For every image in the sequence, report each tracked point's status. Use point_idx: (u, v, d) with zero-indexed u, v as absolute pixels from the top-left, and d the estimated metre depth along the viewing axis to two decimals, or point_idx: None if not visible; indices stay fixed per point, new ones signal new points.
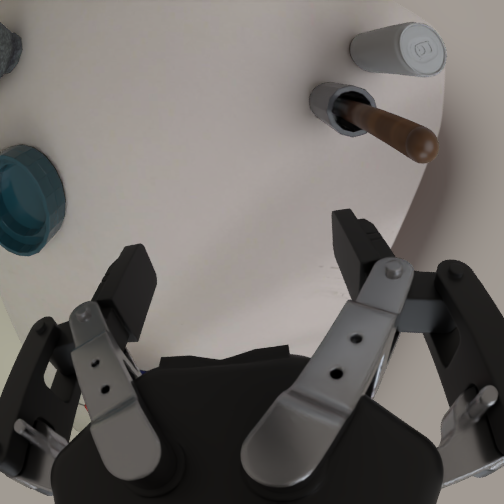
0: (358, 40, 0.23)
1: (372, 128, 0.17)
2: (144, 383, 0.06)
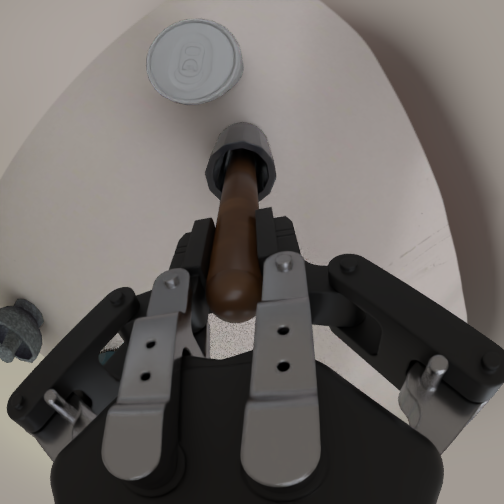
0: None
1: None
2: (190, 384, 0.06)
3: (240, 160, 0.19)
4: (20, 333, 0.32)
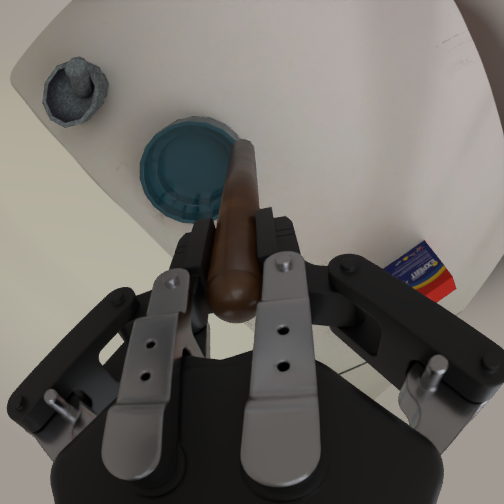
0: None
1: None
2: (190, 384, 0.06)
3: (241, 160, 0.19)
4: (92, 69, 0.29)
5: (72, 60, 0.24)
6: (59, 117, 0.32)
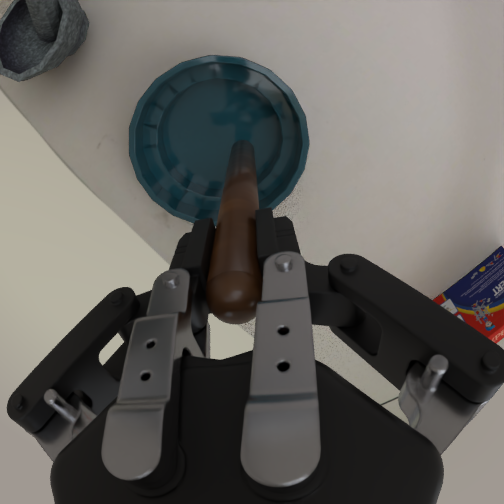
0: None
1: None
2: (190, 384, 0.06)
3: (241, 161, 0.19)
4: None
5: None
6: (13, 68, 0.16)
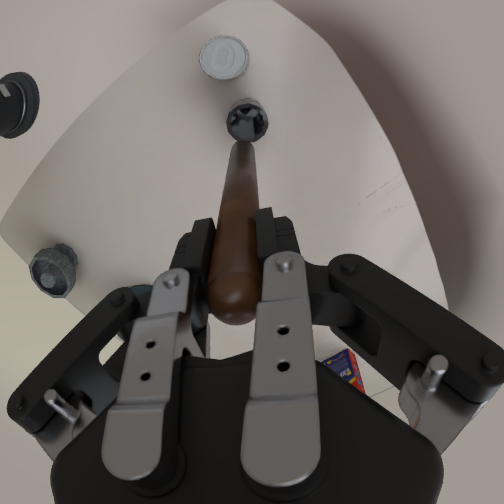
0: None
1: None
2: (190, 384, 0.06)
3: (241, 161, 0.19)
4: (60, 266, 0.43)
5: (43, 275, 0.39)
6: (46, 288, 0.47)
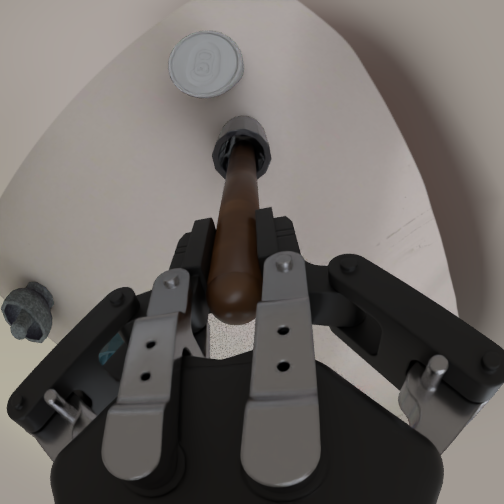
0: None
1: None
2: (190, 384, 0.06)
3: (241, 161, 0.19)
4: (32, 312, 0.35)
5: (13, 326, 0.31)
6: None
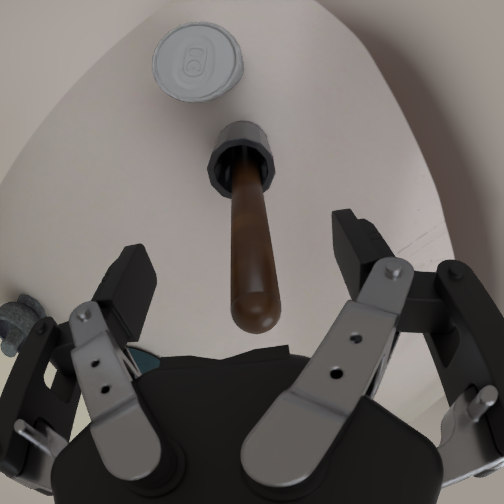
0: None
1: None
2: (144, 383, 0.06)
3: (246, 166, 0.20)
4: (23, 328, 0.32)
5: (3, 344, 0.28)
6: None
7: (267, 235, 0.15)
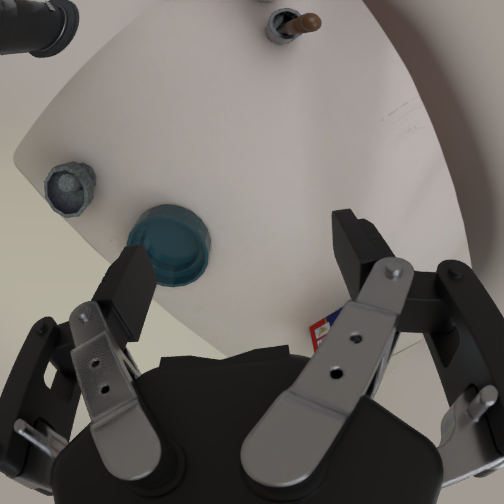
0: None
1: (296, 32, 0.25)
2: (144, 383, 0.06)
3: None
4: (80, 175, 0.42)
5: (62, 177, 0.37)
6: (60, 207, 0.45)
7: None
